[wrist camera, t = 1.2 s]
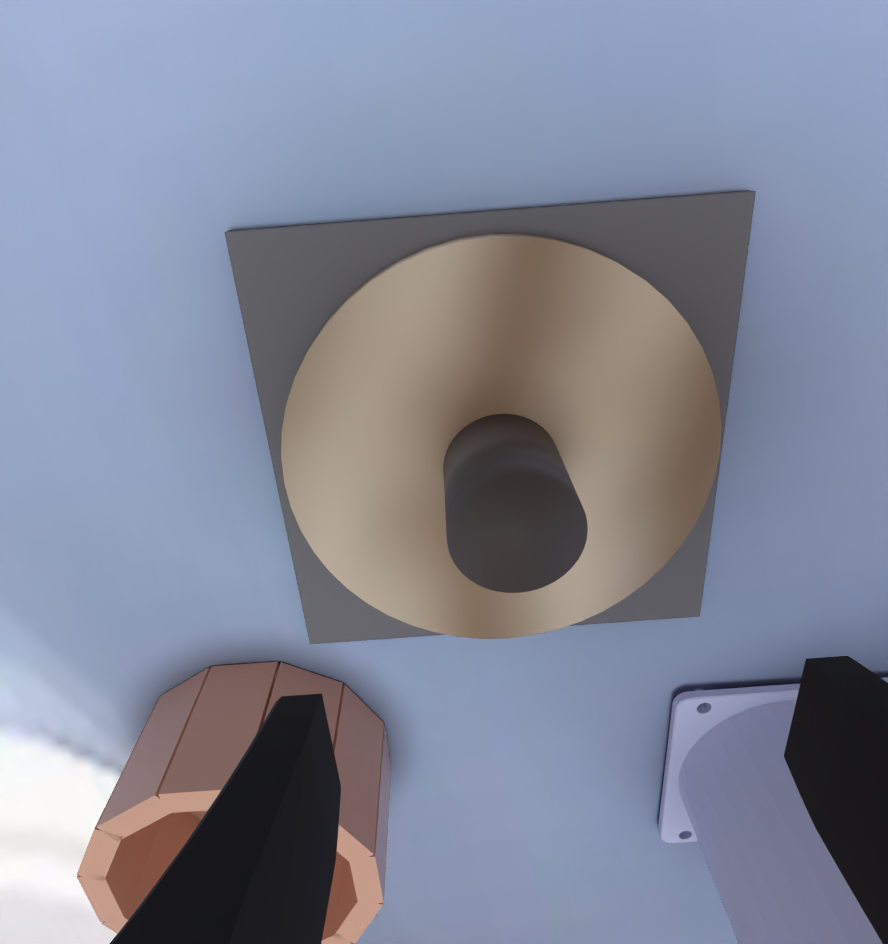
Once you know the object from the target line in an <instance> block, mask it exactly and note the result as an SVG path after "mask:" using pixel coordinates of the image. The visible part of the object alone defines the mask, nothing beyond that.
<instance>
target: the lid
mask: <svg viewBox="0 0 888 944" xmlns="http://www.w3.org/2000/svg"><path fill="white" fill-rule="evenodd" d="M720 442H721V415H720V403H719V397H718V393H717V388H716V384H715V380H714V376H713V372H712V370H711V367H710V365H709V363H708V360H707V358H706V355H705V353H704V350H703V348H702V346H701V344H700V343H699V341H698V339H697V338H696V336H695V335H694V333H693V331H692V330H691V328H690V326H689V325H688V323H687V322H686V321H685V319H684V318H683V317H682V316H681V315H680V313H679V312H678V311H677V310H676V309H675V307H674V306H673V305H672V304H671V303H670V302H669V300H667V299H666V298H665V297H664V296H663V295H662V294H661V293H659V292H658V291H657V290H656V289H655V288H654V287H653V286H651V285H650V284H649V283H648V282H647V281H646V280H644V279H642V278H641V277H639V276H638V275H636V274H635V273H633V272H632V271H630V270H628V269H627V268H625V267H624V266H622V265H621V264H619V263H617V262H615V261H614V260H612V259H610V258H608V257H606V256H604V255H602V254H599V253H597V252H595V251H593V250H590V249H588V248H586V247H584V246H581V245H577V244H574V243H570V242H567V241H563V240H560V239H556V238H553V237H545V236H538V235H530V234H523V233H501V234H484V235H477V236H470V237H463V238H457V239H454V240H451V241H447V242H444V243H440V244H437V245H433V246H430V247H427V248H425V249H423V250H420V251H418V252H416V253H414V254H411V255H409V256H407V257H405V258H402V259H400V260H398V261H397V262H395V263H393V264H392V265H390V266H389V267H387V268H385V269H384V270H382V271H381V272H379V273H377V274H376V275H374V276H373V277H372V278H370V279H369V280H368V281H367V282H366V283H364V284H363V285H362V286H361V287H359V288H358V289H357V290H356V291H355V292H353V293H352V294H351V295H350V296H349V297H348V298H347V299H346V300H345V301H344V302H343V304H342V305H341V306H340V307H339V308H338V309H337V310H336V311H335V312H334V313H333V315H332V316H331V317H330V318H329V319H328V321H327V322H326V324H325V325H324V327H323V328H322V330H321V331H320V333H319V334H318V336H317V337H316V339H315V340H314V342H313V343H312V345H311V347H310V348H309V350H308V352H307V354H306V356H305V358H304V360H303V362H302V364H301V366H300V368H299V370H298V372H297V374H296V376H295V378H294V382H293V385H292V388H291V391H290V394H289V397H288V400H287V403H286V408H285V414H284V420H283V426H282V440H281V461H282V469H283V477H284V484H285V488H286V491H287V495H288V499H289V502H290V506H291V509H292V511H293V514H294V516H295V518H296V521H297V523H298V525H299V527H300V530H301V532H302V533H303V535H304V537H305V538H306V540H307V542H308V543H309V545H310V547H311V548H312V550H313V552H314V553H315V554H316V555H317V557H318V558H319V559H320V560H321V562H322V563H323V564H324V565H325V567H326V568H327V569H328V570H329V572H330V573H331V574H333V575H334V576H335V577H336V578H337V579H338V580H339V581H340V582H341V583H342V584H343V585H344V586H345V587H346V588H347V589H349V590H350V591H351V592H353V593H354V594H355V595H357V596H358V597H359V598H361V599H362V600H363V601H365V602H366V603H367V604H369V605H371V606H373V607H374V608H376V609H378V610H380V611H381V612H383V613H385V614H387V615H388V616H391V617H393V618H395V619H398V620H400V621H402V622H405V623H407V624H409V625H412V626H415V627H419V628H422V629H425V630H429V631H432V632H436V633H441V634H446V635H452V636H457V637H467V638H479V639H497V638H514V637H522V636H530V635H536V634H540V633H544V632H549V631H553V630H557V629H560V628H563V627H566V626H569V625H572V624H575V623H578V622H581V621H583V620H585V619H587V618H590V617H592V616H594V615H596V614H598V613H601V612H603V611H604V610H606V609H608V608H610V607H611V606H613V605H615V604H616V603H618V602H620V601H621V600H623V599H625V598H626V597H628V596H629V595H630V594H632V593H633V592H634V591H636V590H637V589H638V588H640V587H641V586H642V585H644V584H645V583H646V582H647V581H648V580H649V579H650V578H652V577H653V576H654V575H655V574H656V573H657V572H658V571H659V570H660V569H661V568H662V567H663V566H664V565H665V564H666V563H667V562H668V561H669V559H670V558H671V557H672V556H673V555H674V554H675V552H676V551H677V550H678V549H679V548H680V547H681V545H682V544H683V542H684V541H685V539H686V538H687V536H688V535H689V533H690V532H691V530H692V529H693V527H694V526H695V524H696V522H697V520H698V518H699V516H700V514H701V512H702V510H703V508H704V506H705V504H706V501H707V499H708V496H709V493H710V490H711V487H712V484H713V481H714V478H715V474H716V469H717V464H718V459H719V454H720Z"/></svg>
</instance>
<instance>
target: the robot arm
mask: <svg viewBox="0 0 888 944" xmlns="http://www.w3.org/2000/svg"><path fill="white" fill-rule="evenodd" d="M702 703H704V704H702ZM700 704H702V705H700ZM340 798H341V784H340V779H339V774H338V769H337V764H336V759H335V755H334V750H333V745H332V740H331V735H330V730H329V725H328V721H327V716H326V711H325V706H324V701H323V696H322V693H321V694H307V695H293V696H281V697H280V698H279V699H278V700H277V701H276V702H275V704H274V706H273V707H272V709H271V711H270V712H269V714H268V716H267V718H266V719H265V721H264V723H263V724H262V726H261V728H260V729H259V731H258V733H257V734H256V736H255V738H254V739H253V741H252V743H251V744H250V746H249V748H248V749H247V751H246V752H245V754H244V756H243V757H242V759H241V760H240V762H239V764H238V765H237V767H236V768H235V770H234V771H233V773H232V775H231V776H230V778H229V779H228V781H227V782H226V784H225V786H224V787H223V789H222V790H221V791H220V793H219V794H218V796H217V797H216V799H215V800H214V802H213V803H212V805H211V806H210V808H209V809H208V811H207V812H206V814H205V815H204V817H203V818H202V820H201V821H200V823H199V824H198V826H197V827H196V829H195V830H194V832H193V833H192V835H191V836H190V837H189V839H188V840H187V842H186V843H185V845H184V846H183V847H182V849H181V850H180V851H179V853H178V854H177V856H176V857H175V858H174V860H173V861H172V862H171V864H170V865H169V866H168V868H167V869H166V871H165V872H164V873H163V875H162V876H161V877H160V879H159V880H158V881H157V883H156V884H155V886H154V887H153V888H152V890H151V891H150V892H149V894H148V895H147V896H146V898H145V899H144V900H143V902H142V903H141V904H140V906H139V907H138V908H137V910H136V911H135V912H134V914H133V915H132V916H131V917H130V919H129V920H128V921H127V922H126V924H125V925H124V926H123V928H122V929H121V930H120V931H119V933H118V934H117V935H116V936H115V938H114V939H113V940H112V941H111V943H110V944H321V942H322V937H323V931H324V925H325V920H326V914H327V908H328V903H329V897H330V891H331V885H332V880H333V874H334V868H335V862H336V852H337V840H338V827H339V813H340ZM658 832H659V835H660V838H661V839H662V840H663V841H664V842H667V843H682V842H696V841H698V842H699V844H700V847H701V849H702V852H703V854H704V857H705V859H706V862H707V865H708V867H709V870H710V872H711V875H712V877H713V880H714V882H715V885H716V887H717V890H718V892H719V895H720V897H721V900H722V902H723V905H724V908H725V910H726V913H727V915H728V918H729V920H730V923H731V925H732V928H733V930H734V933H735V935H736V938H737V940H738V943H739V944H888V677H885V678H880V677H879V676H877V675H876V674H874V673H873V672H871V671H870V670H868V669H867V668H865V667H864V666H862V665H861V664H859V663H858V662H856V661H855V660H853V659H852V658H850V657H848V656H839V657H825V658H811V659H806V661H805V666H804V670H803V674H802V679H801V683H800V684H786V685H772V686H758V687H743V688H729V689H715V690H701V691H687V692H682V693H680V694H679V695H677V696H676V697H675V698H674V701H673V704H672V713H671V721H670V730H669V738H668V747H667V755H666V764H665V773H664V781H663V790H662V798H661V807H660V815H659V824H658Z"/></svg>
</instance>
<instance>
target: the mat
mask: <svg viewBox="0 0 888 944" xmlns="http://www.w3.org/2000/svg"><path fill="white" fill-rule="evenodd" d="M755 192H756V191H737V192H724V193H711V194H698V195H685V196H672V197H659V198H646V199H633V200H620V201H607V202H594V203H581V204H568V205H555V206H542V207H529V208H516V209H503V210H490V211H477V212H464V213H451V214H438V215H425V216H412V217H399V218H386V219H373V220H360V221H347V222H334V223H321V224H308V225H295V226H282V227H269V228H256V229H243V230H230V231H227V232H225V236H226V241H227V246H228V251H229V256H230V260H231V265H232V270H233V275H234V280H235V285H236V289H237V294H238V299H239V304H240V309H241V313H242V318H243V323H244V328H245V333H246V338H247V342H248V347H249V352H250V357H251V362H252V367H253V371H254V376H255V381H256V386H257V391H258V396H259V400H260V405H261V410H262V415H263V420H264V425H265V429H266V434H267V439H268V444H269V449H270V453H271V458H272V463H273V468H274V473H275V478H276V482H277V487H278V492H279V497H280V502H281V507H282V511H283V516H284V521H285V526H286V531H287V536H288V540H289V545H290V550H291V555H292V560H293V565H294V569H295V574H296V579H297V584H298V589H299V593H300V598H301V603H302V608H303V613H304V618H305V622H306V627H307V632H308V637H309V642H310V644H320V643H334V642H348V641H362V640H376V639H390V638H404V637H418V636H432V635H446V634H441V633H436V632H432V631H429V630H425V629H422V628H419V627H415V626H412V625H409V624H407V623H405V622H402V621H400V620H398V619H395V618H393V617H391V616H388V615H387V614H385V613H383V612H381V611H380V610H378V609H376V608H374V607H373V606H371V605H369V604H367V603H366V602H365V601H363V600H362V599H361V598H359V597H358V596H357V595H355V594H354V593H353V592H351V591H350V590H349V589H347V588H346V587H345V586H344V585H343V584H342V583H341V582H340V581H339V580H338V579H337V578H336V577H335V576H334V575H333V574H331V573H330V572H329V570H328V569H327V568H326V567H325V565H324V564H323V563H322V562H321V560H320V559H319V558H318V557H317V555H316V554H315V553H314V552H313V550H312V548H311V547H310V545H309V543H308V542H307V540H306V538H305V537H304V535H303V533H302V532H301V530H300V527H299V525H298V523H297V521H296V518H295V516H294V514H293V511H292V509H291V506H290V502H289V499H288V495H287V491H286V488H285V484H284V477H283V469H282V461H281V440H282V426H283V420H284V414H285V408H286V403H287V400H288V397H289V394H290V391H291V388H292V385H293V382H294V378H295V376H296V374H297V372H298V370H299V368H300V366H301V364H302V362H303V360H304V358H305V356H306V354H307V352H308V350H309V348H310V347H311V345H312V343H313V342H314V340H315V339H316V337H317V336H318V334H319V333H320V331H321V330H322V328H323V327H324V325H325V324H326V322H327V321H328V319H329V318H330V317H331V316H332V315H333V313H334V312H335V311H336V310H337V309H338V308H339V307H340V306H341V305H342V304H343V302H344V301H345V300H346V299H347V298H348V297H349V296H350V295H351V294H352V293H353V292H355V291H356V290H357V289H358V288H359V287H361V286H362V285H363V284H364V283H366V282H367V281H368V280H369V279H370V278H372V277H373V276H374V275H376V274H377V273H379V272H381V271H382V270H384V269H385V268H387V267H389V266H390V265H392V264H393V263H395V262H397V261H398V260H400V259H402V258H405V257H407V256H409V255H411V254H414V253H416V252H418V251H420V250H423V249H425V248H427V247H430V246H433V245H437V244H440V243H444V242H447V241H451V240H454V239H457V238H463V237H470V236H477V235H484V234H501V233H523V234H530V235H538V236H545V237H553V238H556V239H560V240H563V241H567V242H570V243H574V244H577V245H581V246H584V247H586V248H588V249H590V250H593V251H595V252H597V253H599V254H602V255H604V256H606V257H608V258H610V259H612V260H614V261H615V262H617V263H619V264H621V265H622V266H624V267H625V268H627V269H628V270H630V271H632V272H633V273H635V274H636V275H638V276H639V277H641V278H642V279H644V280H646V281H647V282H648V283H649V284H650V285H651V286H653V287H654V288H655V289H656V290H657V291H658V292H659V293H661V294H662V295H663V296H664V297H665V298H666V299H667V300H669V302H670V303H671V304H672V305H673V306H674V307H675V309H676V310H677V311H678V312H679V313H680V315H681V316H682V317H683V318H684V319H685V321H686V322H687V323H688V325H689V326H690V328H691V330H692V331H693V333H694V335H695V336H696V338H697V339H698V341H699V343H700V344H701V346H702V348H703V350H704V353H705V355H706V358H707V360H708V363H709V365H710V367H711V370H712V372H713V376H714V380H715V384H716V388H717V393H718V397H719V403H720V415H721V442H720V454H719V459H718V464H717V469H716V474H715V478H714V481H713V484H712V487H711V490H710V493H709V496H708V499H707V501H706V504H705V506H704V508H703V510H702V512H701V514H700V516H699V518H698V520H697V522H696V524H695V526H694V527H693V529H692V530H691V532H690V533H689V535H688V536H687V538H686V539H685V541H684V542H683V544H682V545H681V547H680V548H679V549H678V550H677V551H676V552H675V554H674V555H673V556H672V557H671V558H670V559H669V561H668V562H667V563H666V564H665V565H664V566H663V567H662V568H661V569H660V570H659V571H658V572H657V573H656V574H655V575H654V576H653V577H652V578H650V579H649V580H648V581H647V582H646V583H645V584H644V585H642V586H641V587H640V588H638V589H637V590H636V591H634V592H633V593H632V594H630V595H629V596H628V597H626V598H625V599H623V600H621V601H620V602H618V603H616V604H615V605H613V606H611V607H610V608H608V609H606V610H604V611H603V612H601V613H598V614H596V615H594V616H592V617H590V618H587V619H585V620H583V621H581V622H578V623H575V624H572V625H586V624H600V623H614V622H628V621H642V620H656V619H670V618H684V617H698V616H700V610H701V602H702V595H703V587H704V580H705V572H706V564H707V557H708V549H709V542H710V534H711V526H712V519H713V511H714V504H715V496H716V488H717V481H718V473H719V466H720V458H721V450H722V443H723V435H724V428H725V420H726V412H727V405H728V397H729V390H730V382H731V374H732V367H733V359H734V352H735V344H736V336H737V329H738V321H739V314H740V306H741V298H742V291H743V283H744V276H745V268H746V260H747V253H748V245H749V238H750V230H751V222H752V215H753V207H754V200H755ZM572 625H569V626H572Z"/></svg>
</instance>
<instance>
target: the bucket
mask: <svg viewBox="0 0 888 944" xmlns="http://www.w3.org/2000/svg"><path fill="white" fill-rule="evenodd" d="M342 684H343V683H342V682H339V681H336V680H333V679H330V678H327V677H324V676H321V675H318V674H315V673H312V672H309V671H306V670H303V669H300V668H297V667H294V666H291V665H288V664H285V663H282V662H281V663H280V665H278V662H264V663H250V664H236V665H222V666H212V667H211V669H210V668H209V667H208V668H206V669H205V670H203V671H201V672H200V673H198V674H196V675H195V676H193V677H191V678H190V679H188V680H186V681H185V682H183V683H181V684H179V685H178V686H176V687H174V688H173V689H171V690H169V691H168V692H166V693H164V694H163V695H161V696H160V698H158V700H157V703H156V705H155V707H154V709H153V711H152V713H151V715H150V717H149V719H148V721H147V723H146V725H145V727H144V729H143V731H142V733H141V735H140V737H139V739H138V741H137V743H136V745H135V747H134V749H133V751H132V753H131V756H130V758H129V760H128V762H127V764H126V766H125V768H124V770H123V772H122V774H121V776H120V778H119V780H118V782H117V784H116V786H115V788H114V790H113V792H112V794H111V796H110V798H109V800H108V802H107V804H106V807H105V809H104V811H103V813H102V815H101V817H100V819H99V821H98V823H97V825H96V827H95V829H94V832H93V834H92V837H91V839H90V842H89V845H88V847H87V850H86V852H85V855H84V858H83V860H82V863H81V865H80V868H79V871H78V873H77V875H78V876H77V878H78V880H79V882H80V884H81V886H82V888H83V890H84V891H85V893H86V895H87V897H88V899H89V901H90V903H91V905H92V907H93V909H94V911H95V913H96V915H97V917H98V919H99V920H100V922H103V923H102V924H103V925H105V926H106V927H108V928H110V929H111V930H113V931H114V932H116V933H119V931H120V930H121V929H122V928H123V926H124V925H125V924H126V922H127V921H128V920H129V919H130V917H131V916H132V915H133V914H134V912H135V911H136V910H137V908H138V907H139V906H140V904H141V903H142V902H143V900H144V899H145V898H146V896H147V895H148V894H149V892H150V891H151V890H152V888H153V887H154V886H155V884H156V883H157V881H158V880H159V879H160V877H161V876H162V875H163V873H164V872H165V871H166V869H167V868H168V866H169V865H170V864H171V862H172V861H173V860H174V858H175V857H176V856H177V854H178V853H179V851H180V850H181V849H182V847H183V846H184V845H185V843H186V842H187V840H188V839H189V837H190V836H191V835H192V833H193V832H194V830H195V829H196V827H197V826H198V824H199V823H200V821H201V820H202V818H203V817H204V815H205V814H206V812H207V811H208V809H209V808H210V806H211V805H212V803H213V802H214V800H215V799H216V797H217V796H218V794H219V793H220V791H221V790H222V789H223V787H224V786H225V784H226V782H227V781H228V779H229V778H230V776H231V775H232V773H233V771H234V770H235V768H236V767H237V765H238V764H239V762H240V760H241V759H242V757H243V756H244V754H245V752H246V751H247V749H248V748H249V746H250V744H251V743H252V741H253V739H254V738H255V736H256V734H257V733H258V731H259V729H260V728H261V726H262V724H263V723H264V721H265V719H266V718H267V716H268V714H269V712H270V711H271V709H272V707H273V706H274V704H275V702H276V701H277V700H278V699H279V698H280V697H281V696H293V695H307V694H321V693H322V696H323V701H324V706H325V711H326V716H327V721H328V725H329V730H330V735H331V740H332V745H333V750H334V755H335V759H336V764H337V769H338V774H339V779H340V784H341V798H340V813H339V827H338V840H337V852H336V862H335V868H334V874H333V880H332V885H331V891H330V897H329V903H328V908H327V914H326V920H325V925H324V931H323V937H322V942H321V944H353V943H356V941H357V940H358V939H359V937H360V936H361V935H362V933H363V932H364V930H365V929H366V928H367V926H368V925H369V924H370V922H371V921H372V919H373V918H374V917H375V915H376V914H377V913H378V911H379V910H380V908H381V907H382V906H383V903H384V888H385V871H386V853H387V835H388V818H389V800H390V782H391V763H390V756H389V749H388V743H387V736H386V730H385V725H384V722H383V721H382V720H381V719H380V718H379V717H378V716H377V715H376V714H375V713H374V712H372V711H371V710H370V709H369V708H368V707H367V706H366V705H365V704H364V703H363V702H362V701H361V700H360V699H359V698H358V697H357V696H356V695H355V694H354V693H353V692H352V691H351V690H350V689H349V688H348V687H347V686H346V685H343V686H342Z"/></svg>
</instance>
